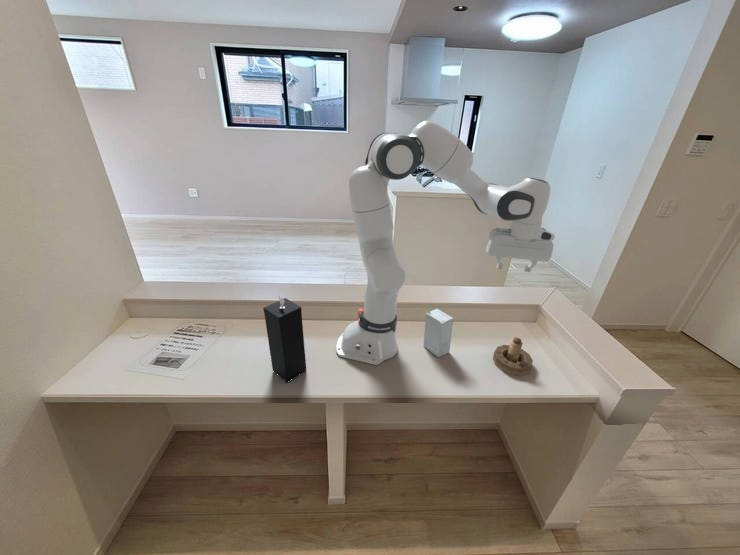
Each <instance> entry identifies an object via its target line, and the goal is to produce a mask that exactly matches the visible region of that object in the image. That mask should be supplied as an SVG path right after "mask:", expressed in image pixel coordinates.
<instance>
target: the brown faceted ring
mask: <svg viewBox="0 0 740 555" xmlns="http://www.w3.org/2000/svg"><path fill="white" fill-rule="evenodd" d="M509 346H510V344H502V345H499V346H497V347H495V350H494V352H493V356H492V360H493V363H494V366H496V367H498V368H499V369H500V370H501V371H502V372H504V373H507V374H509V375H513V376H525V375H527V374H529V373H530V371H531V368H532V367H533V362H534V360H533V358H532V357H531V355H530V354H529V353H528V352H527V351H526V350H524V349H523V348H521V351H520V355H519V358H518V361H519V363H518V362H517V363H513V362H510V361H508V360H507V359H506V358H507V354H508V350H509ZM505 357H506V358H505Z"/></svg>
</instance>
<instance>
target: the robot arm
mask: <svg viewBox="0 0 740 555" xmlns="http://www.w3.org/2000/svg"><path fill="white" fill-rule="evenodd" d="M473 162H474V154H473V152H472V150H470V148H469V147H468V146H467V144H465V143H464V141H463V140H461V139H460V138H459V137H458V136H457V135H455V134H453V133H452V132H451V131H450V130H448V129H447V128H446V127H444V126H442V125H440V124H438V123H436V122H434V121H431V120H423V121H421V122H419V123H418V124H417V125H416V126H414V127H413V129H412V131H411V132H410V133H408V135H402V134H400V133H396V132H384V133H383V132H382V133H381V134H378V135H376V137H375V138H373V140H372V142H371V143H370V146H369V149H368V151H367V155H366V158H365V161H364V165H362V166H359V167H357V168H355V169H354V170H353V171H352V172H351V173H350V175H349V177H348V178H349V179H348V188H349V199H350V205H351V210H352V214H353V215H352V216H353V219H354V224H355V228H356V229H355V230H356V233H357V237H358V244H359V245H358V246H359V250H360V256H361V261H362V264H363V266H364V269H365V272H366V277H367V286H366V290H365V292H364V295H363V296H364V297H363V298H364V299H363V305H364V306H363V308H361V307H360V308H359V309H358V312H357V314H358V316H357V320H356V321H353V322H351V323H349V324H348V325H347V326H346V328H345V330H344V332H342V333H341V334H340V336H339V337H338V339H337V341H336V346H335V351H336V354H338V355H337V356H338V357H340V358H344V359H348V360H353V361H357V362H362V363H367V364H371V365H375V366H379V365H380V364H382V362H384V361H387V360H389V359H392V358H393V357H394V356H395V355H396V354H397V353H398V350H399V346H398V344H397V339H396V338H397V337H396V329H397V324H398V316H397V305H398V304H397V301H398V296H399V291H400V289H401V288H402V287H403V286H404V284H405V282H406V271H405V267H404V264H403V262H402V261H401V259H400V258H399V256H398V255H397V253H396V251H395V247H394V238H393V237H394V236H393V235H394V234H393V233H394V223H393V221H394V220H393V216H392V210H391V204H390V198H389V192H388V187H389V186H388V185H389V182H390V180H394V181H395V180H396V181H397V180H404V179H406V178H407V177H408V176H410V175H411V174H412V173H413V172H414V171H415V170H416V169H417V168H418V167H420V166H422V167H424V168H425V169H427V170H428V171H430V173H432V174H434V175H435V176H436V177H438V178H440V179H442V180H443V181H445V182H448V183H450V184H454V185H455V186H457V187H458V188H459V189H460V190H461V191H463V192H464V193H465V194H467V196H469V198H471V200H472V202H473V204H474V206H475V209H476V210H477V211H479V212H480V213H481V214H485V215H487V216H488V215H489V216H490V217H494V218H496V219H499V220H502V221H510V225H509V228H500V227H496V228H493V229H491V231H490V232H489V236H488V239H489V240H488V243H487V245H486V247H485V248H486V249H485V251H486V253H487V255H488V256H490V257H494V258H495V261H496V267H495V269H497V270H502V269H503V267H504V264H503V263H502V262H501V261H500V260H502V258H508V259H509V258H511V259H516V260H517V259H520V260H528V261H530V262H529V264H528V265H525V266H524V269H523V270H524V272H525V273H531V271H532V269H533V268H534V267H535V266H536V265H537V264H538V262H549V261H550V260H551V258H552V255H553V251H554V250H553V249H554V243H553V241H554V240H555V237H556V236H555V234H554V233H552V232H551V231H549V230H547V229H545V228H544V227H542V224H543V216H544V214H545V212H546V210H547V207H548V203H549V199H550V195H551V186H550V185H551V184H550V183H549V182H548V181H545V180H543V179H540V178H535V177H525V178H524V180H522V181H521V182H518V183H517V184H515V185H511V186H509V187H507V186H503V185H499V184H496V183H493V182H486V181H485V180H483V178H481V176H479V175H478V174H477V173H475V171H473V170H472V169H471V168H472V166H473Z"/></svg>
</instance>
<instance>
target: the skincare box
mask: <svg viewBox="0 0 740 555" xmlns="http://www.w3.org/2000/svg"><path fill="white" fill-rule="evenodd" d="M424 322H425V323H424V336H423V347H424V348H425V349H427V350H428V351H429V352H430V353H432V354H433V355H435V356H436V357H437V358H440V357H442V356H444V355H447V354H449V352H450V350H451V342H452V334H453V324H454V317H453V316H451V315H449V314H447V313H445V312H444V311H442V310H440V309H439V308H435V309H433V310H431V311H428V312H426V313H425V321H424Z"/></svg>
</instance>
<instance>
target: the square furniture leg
mask: <svg viewBox="0 0 740 555" xmlns="http://www.w3.org/2000/svg"><path fill="white" fill-rule="evenodd" d="M262 310H263V315H264V319H265V327H266V334H267V341H268V346H269V347H268V348H269V354H270V359H271V368H272V372H273V371H274V372H275V373H276V374H275V373H274V372H273V373H274V374H275V375H277V374H278V375H279V376H280V377H281V378H282V379H281V378H280V377H279V376H278V375H277V376H278V377H279V378H280V379H281V380H283V379H284V380H285V381H286V382H288V381H290V380H291V379H293V378H294V379H296V378H297V377H299V376H300V375H302V374H303V372H304V371H305V372H306V371H307V362H306V361H307V360H306V350H305V336H304V328H303V314H302V312H303V311H302V306H300V305H299V304H296V303H295V302H293V301H291V300H290V299H288V298H286V297H285V298H281V296H280V295H278V301H276V302H273V303H271V304H269V305H266V306H264V307H263V309H262ZM305 372H304V373H305ZM301 373H302V374H301ZM299 374H300V375H299ZM298 375H299V376H298ZM296 376H297V377H296ZM295 377H296V378H295ZM294 379H293V380H294ZM284 380H283V381H284ZM285 381H284V382H285ZM291 381H292V380H291ZM291 381H290V382H291ZM286 382H285V383H286ZM288 383H289V382H288Z"/></svg>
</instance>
